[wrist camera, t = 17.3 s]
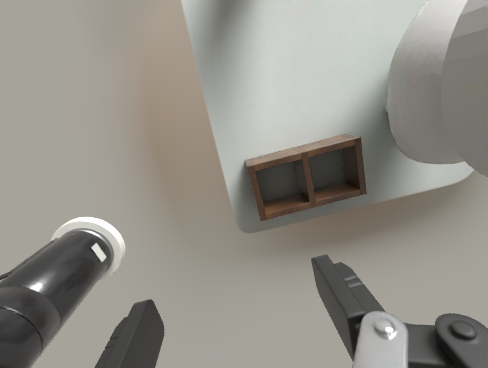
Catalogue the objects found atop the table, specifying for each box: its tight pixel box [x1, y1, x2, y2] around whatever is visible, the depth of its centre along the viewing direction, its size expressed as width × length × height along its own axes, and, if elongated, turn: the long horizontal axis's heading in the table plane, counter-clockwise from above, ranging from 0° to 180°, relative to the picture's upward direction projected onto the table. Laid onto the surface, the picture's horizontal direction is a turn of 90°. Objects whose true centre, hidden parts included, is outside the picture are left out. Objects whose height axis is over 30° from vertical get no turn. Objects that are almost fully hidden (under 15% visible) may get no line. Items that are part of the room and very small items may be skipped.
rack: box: [245, 134, 367, 221], centre depth 39 cm, size 17×9×5 cm, turn 104°
